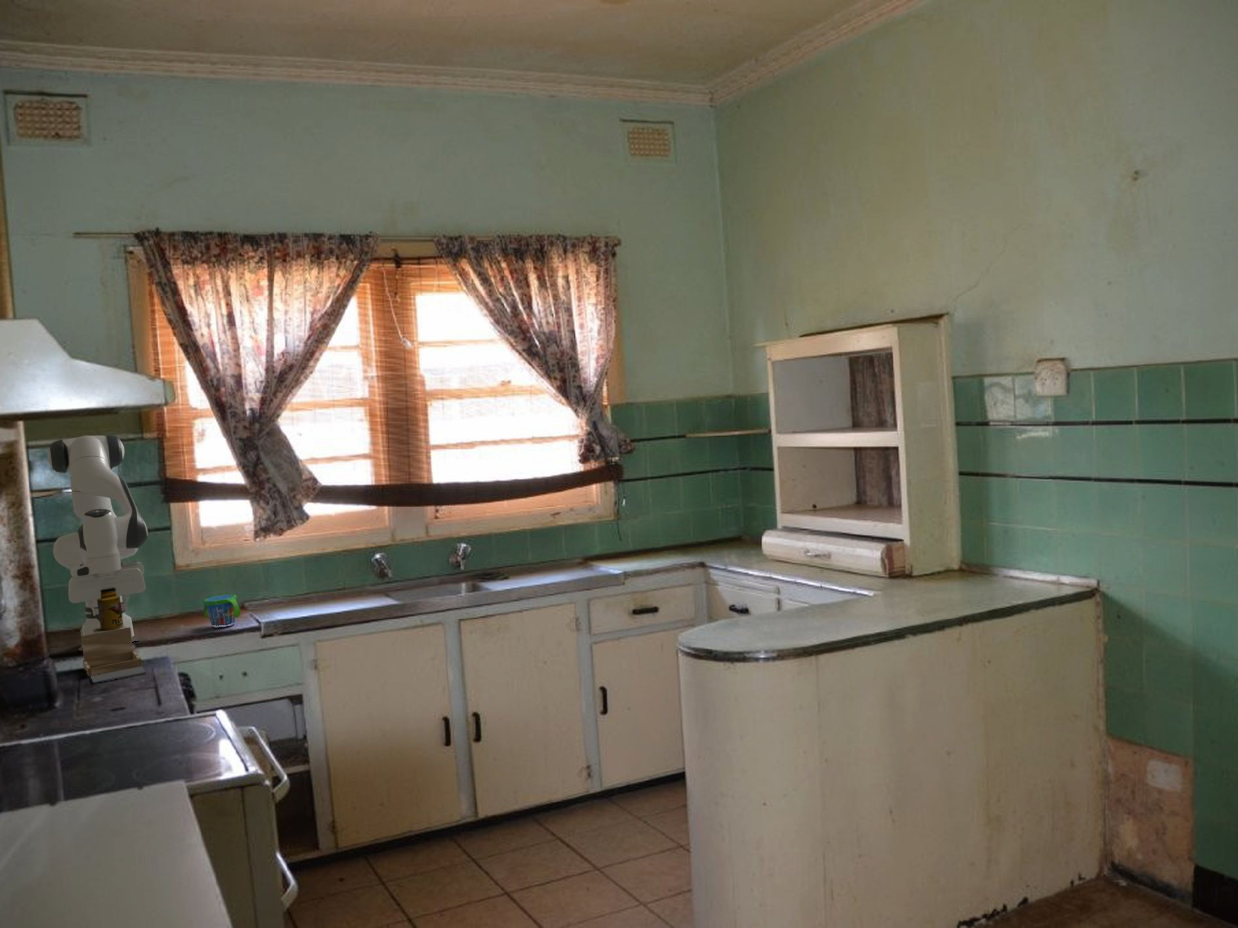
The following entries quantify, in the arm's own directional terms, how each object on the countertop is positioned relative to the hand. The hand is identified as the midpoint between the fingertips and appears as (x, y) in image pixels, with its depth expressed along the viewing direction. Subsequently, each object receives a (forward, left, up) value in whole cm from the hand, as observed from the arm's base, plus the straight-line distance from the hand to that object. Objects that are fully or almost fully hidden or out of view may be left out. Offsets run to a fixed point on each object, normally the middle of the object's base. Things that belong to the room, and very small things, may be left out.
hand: (110, 612), depth 320 cm
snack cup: (-49, +39, -19) cm, 65 cm away
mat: (0, 0, -19) cm, 19 cm away
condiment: (0, -1, -5) cm, 5 cm away
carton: (-14, 0, -19) cm, 23 cm away
